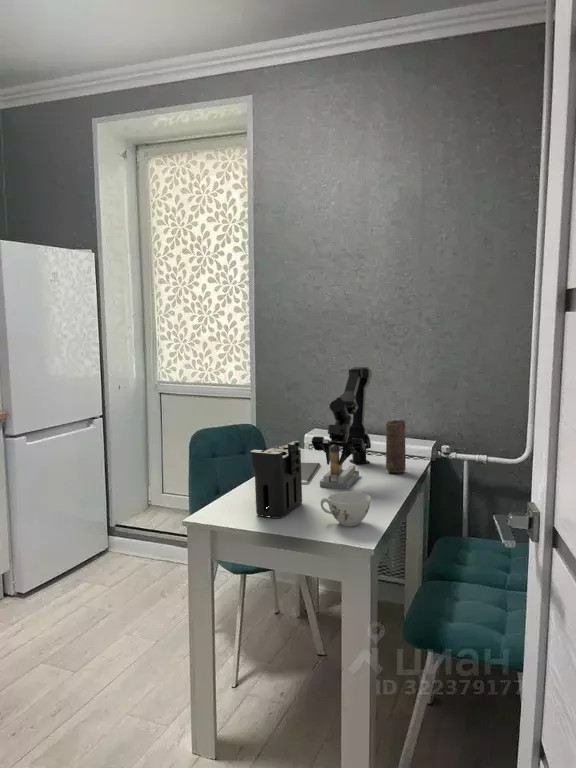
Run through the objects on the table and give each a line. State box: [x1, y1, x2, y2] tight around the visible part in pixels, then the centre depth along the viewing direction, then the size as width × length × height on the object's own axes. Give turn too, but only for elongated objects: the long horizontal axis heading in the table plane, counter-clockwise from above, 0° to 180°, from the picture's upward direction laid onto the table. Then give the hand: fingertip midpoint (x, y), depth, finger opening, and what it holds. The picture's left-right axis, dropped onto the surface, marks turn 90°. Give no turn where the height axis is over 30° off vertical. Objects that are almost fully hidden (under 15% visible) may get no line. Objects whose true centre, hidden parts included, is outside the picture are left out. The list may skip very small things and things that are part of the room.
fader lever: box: [329, 445, 341, 482], centre depth 206 cm, size 4×4×13 cm
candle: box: [385, 419, 406, 474], centre depth 221 cm, size 8×7×20 cm
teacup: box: [320, 490, 372, 527], centre depth 170 cm, size 15×12×8 cm
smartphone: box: [301, 461, 321, 485], centre depth 225 cm, size 13×27×2 cm, turn 167°
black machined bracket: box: [250, 440, 303, 518], centre depth 183 cm, size 12×21×22 cm, turn 154°
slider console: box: [319, 464, 360, 490], centre depth 212 cm, size 17×10×4 cm, turn 159°
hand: (333, 464), depth 205 cm, fingers open, 4 cm apart
